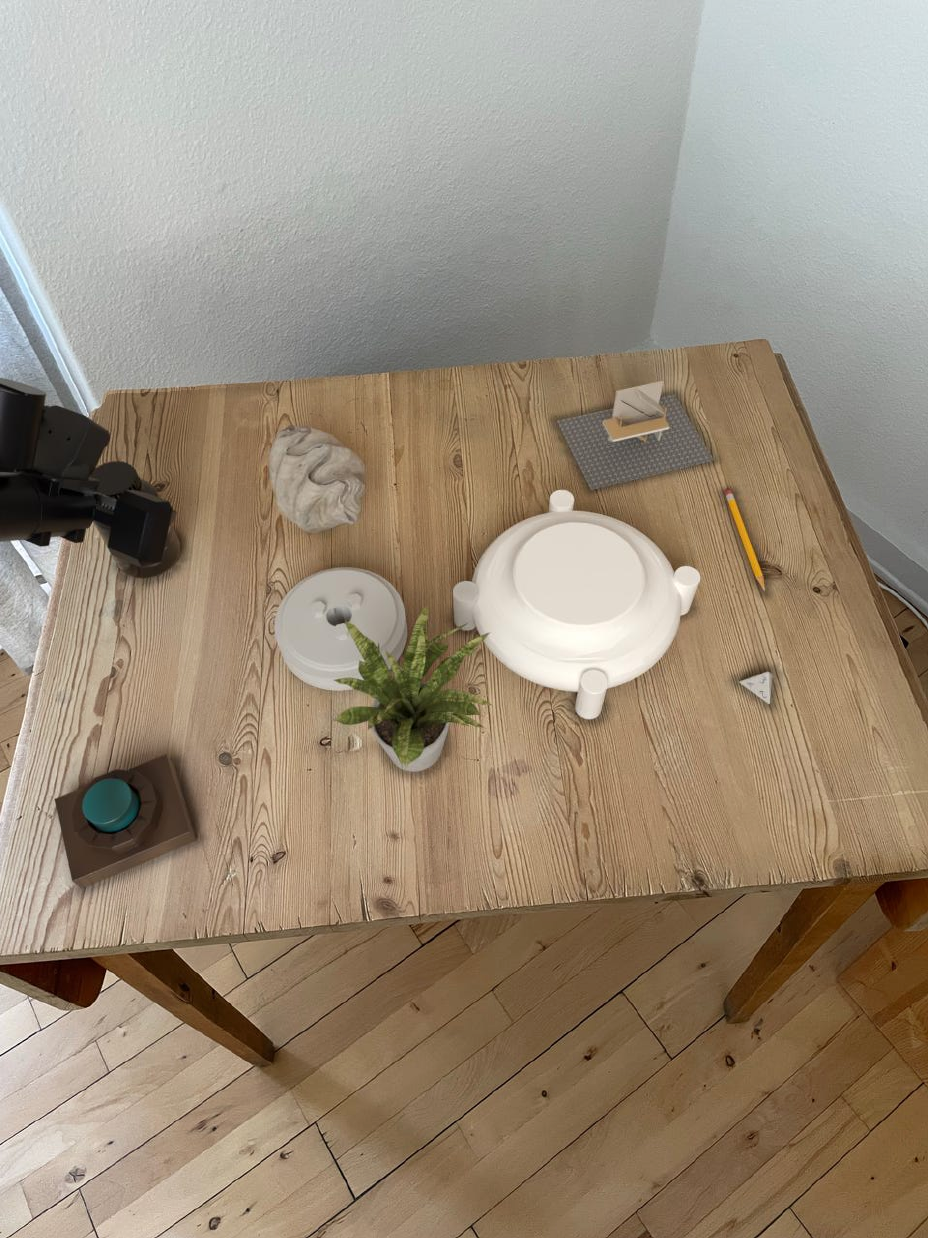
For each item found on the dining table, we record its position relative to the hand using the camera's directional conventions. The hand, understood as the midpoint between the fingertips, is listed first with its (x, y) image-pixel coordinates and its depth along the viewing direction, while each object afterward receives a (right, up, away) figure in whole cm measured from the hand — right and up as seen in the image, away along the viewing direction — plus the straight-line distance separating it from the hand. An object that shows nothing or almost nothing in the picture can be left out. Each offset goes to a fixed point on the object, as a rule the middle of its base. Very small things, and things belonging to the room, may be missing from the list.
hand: (137, 500), depth 88 cm
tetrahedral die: (+61, -19, -4) cm, 64 cm away
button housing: (+3, -30, -11) cm, 32 cm away
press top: (+3, -28, -14) cm, 32 cm away
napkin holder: (+53, +9, +13) cm, 55 cm away
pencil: (+63, -4, +5) cm, 63 cm away
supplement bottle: (-1, -5, +5) cm, 8 cm away
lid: (+21, -14, -1) cm, 25 cm away
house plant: (+29, -25, -8) cm, 39 cm away
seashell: (+18, 0, +9) cm, 20 cm away
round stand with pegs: (+44, -11, 0) cm, 45 cm away
